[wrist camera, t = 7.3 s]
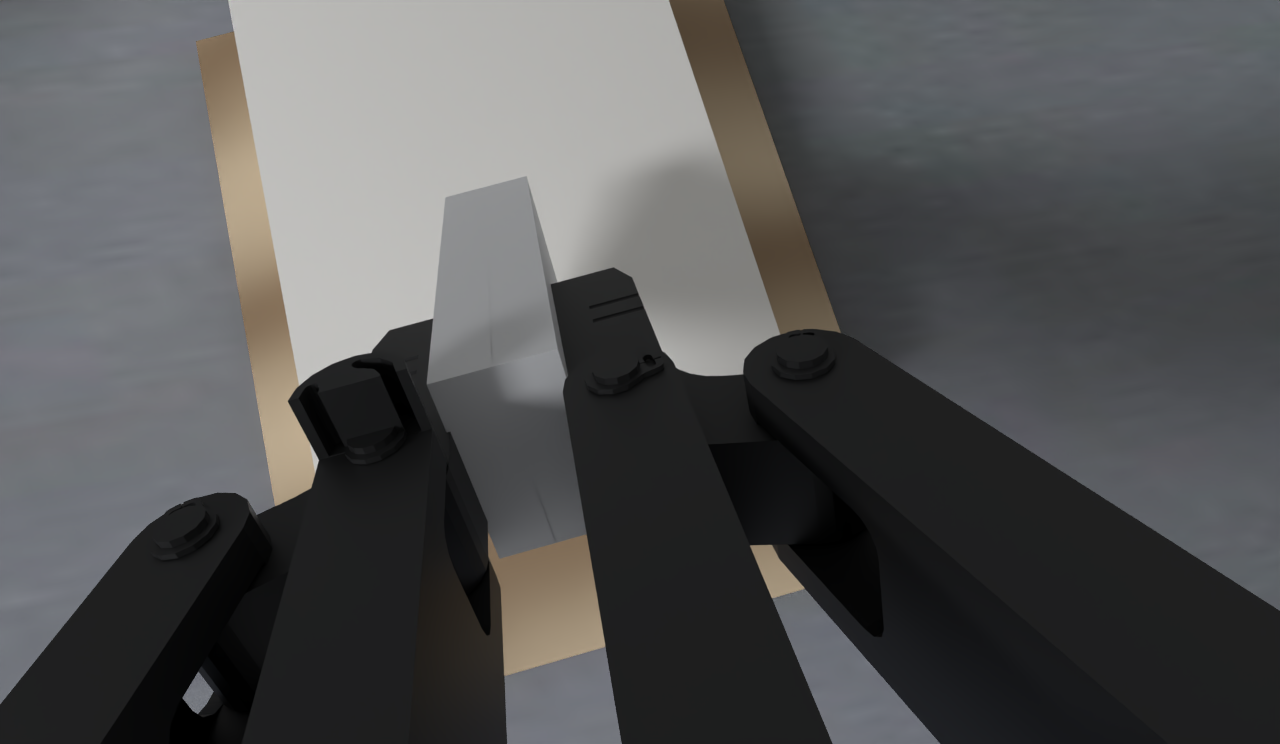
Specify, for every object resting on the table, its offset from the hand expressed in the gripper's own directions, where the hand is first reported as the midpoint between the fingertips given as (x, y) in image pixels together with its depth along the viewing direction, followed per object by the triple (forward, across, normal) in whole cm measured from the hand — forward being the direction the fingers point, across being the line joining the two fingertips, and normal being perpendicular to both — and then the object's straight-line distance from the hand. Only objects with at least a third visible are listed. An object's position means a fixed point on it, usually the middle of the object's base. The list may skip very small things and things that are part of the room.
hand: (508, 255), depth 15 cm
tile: (0, 0, -5) cm, 5 cm away
